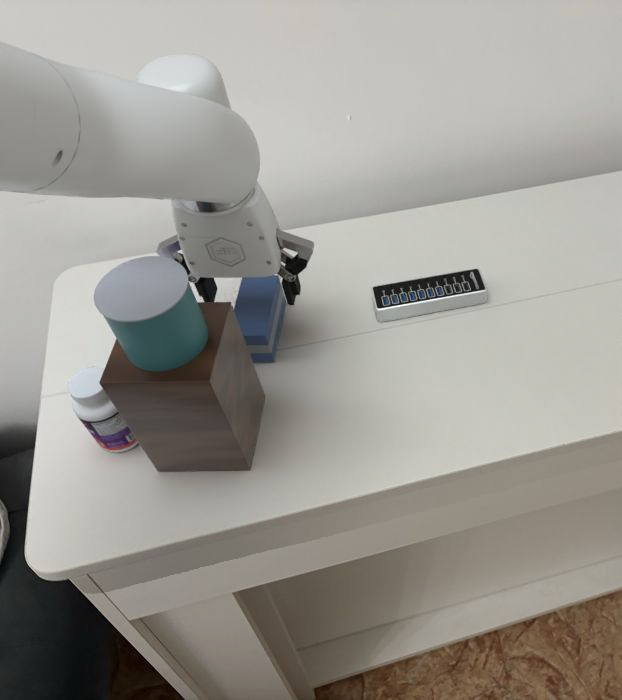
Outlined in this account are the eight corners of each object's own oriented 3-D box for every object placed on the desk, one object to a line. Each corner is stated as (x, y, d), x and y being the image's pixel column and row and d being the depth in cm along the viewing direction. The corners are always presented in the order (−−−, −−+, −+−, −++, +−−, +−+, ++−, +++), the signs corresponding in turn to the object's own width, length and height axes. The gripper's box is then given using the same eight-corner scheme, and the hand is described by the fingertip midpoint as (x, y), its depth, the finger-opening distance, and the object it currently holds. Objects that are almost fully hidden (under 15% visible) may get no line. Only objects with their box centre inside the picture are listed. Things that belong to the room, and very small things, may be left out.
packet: (274, 362, 86) (265, 335, 82) (237, 362, 86) (226, 336, 82) (286, 302, 92) (278, 274, 89) (251, 302, 92) (242, 275, 89)
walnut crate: (250, 470, 77) (209, 381, 64) (157, 471, 76) (98, 383, 64) (265, 395, 83) (230, 301, 71) (179, 396, 83) (130, 302, 70)
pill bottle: (95, 423, 80) (57, 371, 73) (144, 407, 82) (111, 354, 74) (101, 461, 77) (62, 410, 70) (152, 443, 79) (119, 392, 71)
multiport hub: (372, 298, 93) (370, 286, 91) (478, 279, 95) (479, 267, 93) (377, 322, 90) (376, 310, 88) (487, 302, 92) (487, 290, 91)
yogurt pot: (200, 372, 65) (175, 320, 59) (113, 373, 65) (80, 321, 59) (218, 309, 70) (196, 255, 64) (137, 310, 70) (109, 256, 64)
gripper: (116, 207, 69) (172, 322, 83) (293, 205, 69) (321, 320, 83) (137, 160, 74) (187, 276, 87) (303, 158, 74) (328, 274, 87)
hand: (252, 297), depth 85 cm, fingers open, 9 cm apart
